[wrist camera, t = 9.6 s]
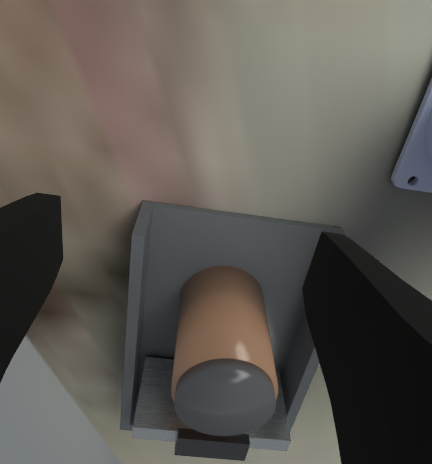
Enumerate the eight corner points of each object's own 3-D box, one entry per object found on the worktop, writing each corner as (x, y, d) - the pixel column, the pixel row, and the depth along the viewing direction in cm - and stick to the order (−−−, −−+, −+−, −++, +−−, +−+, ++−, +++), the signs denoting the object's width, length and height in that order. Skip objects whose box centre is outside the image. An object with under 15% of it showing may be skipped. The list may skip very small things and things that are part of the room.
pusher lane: (340, 227, 23) (360, 264, 20) (277, 398, 30) (284, 443, 27) (143, 200, 22) (131, 234, 19) (129, 384, 29) (120, 429, 26)
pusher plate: (279, 367, 27) (294, 448, 22) (274, 382, 28) (287, 464, 23) (145, 353, 26) (131, 434, 22) (144, 369, 27) (129, 451, 22)
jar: (257, 259, 23) (273, 360, 17) (268, 323, 26) (285, 431, 19) (171, 273, 23) (156, 376, 17) (191, 334, 26) (183, 443, 20)
